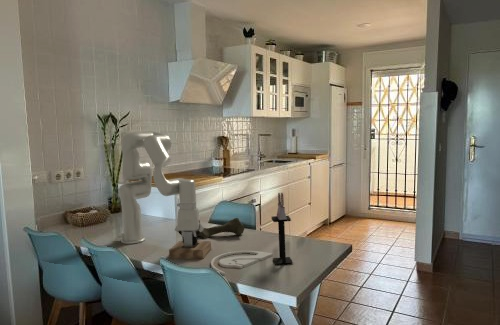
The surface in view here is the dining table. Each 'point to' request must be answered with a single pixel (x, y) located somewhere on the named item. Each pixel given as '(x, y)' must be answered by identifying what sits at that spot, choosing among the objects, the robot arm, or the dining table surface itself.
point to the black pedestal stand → (281, 232)
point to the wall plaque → (239, 259)
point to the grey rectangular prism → (188, 239)
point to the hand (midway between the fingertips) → (190, 244)
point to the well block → (190, 250)
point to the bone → (224, 228)
